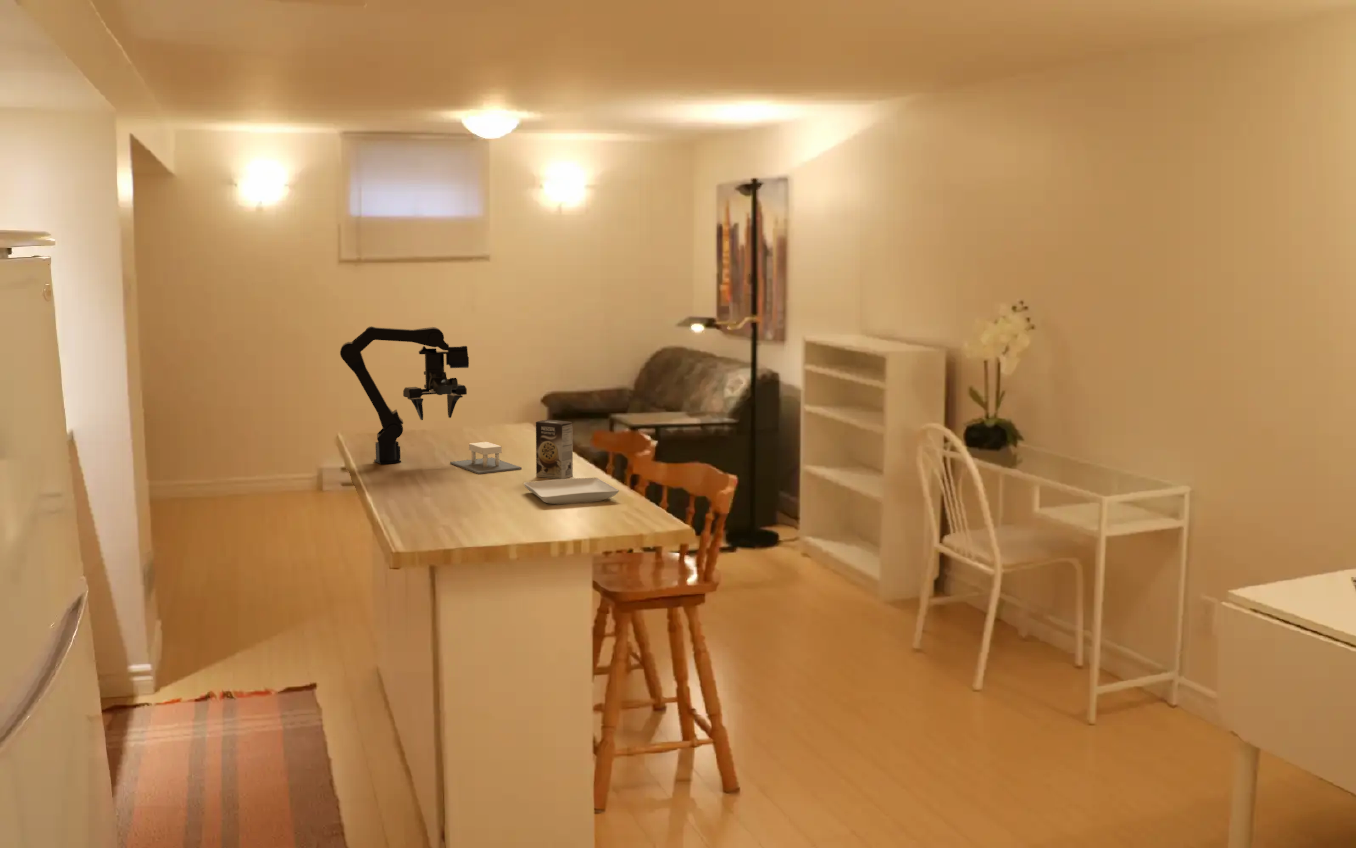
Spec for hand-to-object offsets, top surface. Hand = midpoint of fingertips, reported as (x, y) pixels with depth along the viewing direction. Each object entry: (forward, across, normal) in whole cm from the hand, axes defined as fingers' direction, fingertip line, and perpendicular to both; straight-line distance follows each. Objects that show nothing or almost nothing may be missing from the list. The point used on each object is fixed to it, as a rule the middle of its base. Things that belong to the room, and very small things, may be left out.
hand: (435, 418), depth 369 cm
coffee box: (+13, +18, -43) cm, 48 cm away
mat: (+13, +8, -18) cm, 24 cm away
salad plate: (+14, +8, -70) cm, 72 cm away
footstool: (+12, +8, -18) cm, 23 cm away
